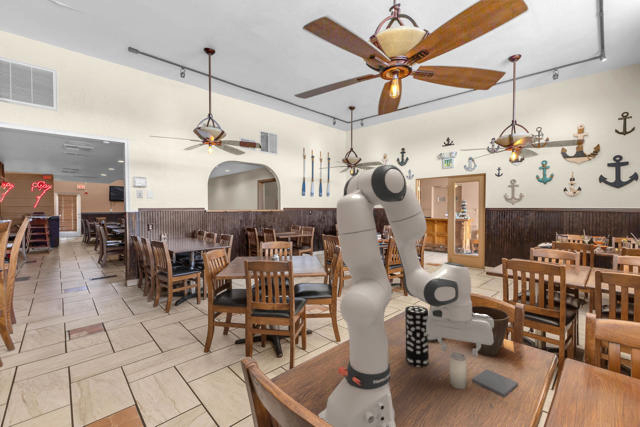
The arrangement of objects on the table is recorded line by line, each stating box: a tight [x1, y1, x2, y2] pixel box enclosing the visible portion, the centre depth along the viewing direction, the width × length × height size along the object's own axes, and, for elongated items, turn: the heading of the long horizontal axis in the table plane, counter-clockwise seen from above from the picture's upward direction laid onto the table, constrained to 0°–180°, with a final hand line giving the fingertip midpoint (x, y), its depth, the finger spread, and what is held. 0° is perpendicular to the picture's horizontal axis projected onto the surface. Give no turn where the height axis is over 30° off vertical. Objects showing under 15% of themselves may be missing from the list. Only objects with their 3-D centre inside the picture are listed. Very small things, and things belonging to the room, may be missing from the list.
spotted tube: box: [404, 305, 430, 368], centre depth 112 cm, size 8×8×20 cm
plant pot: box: [472, 305, 510, 357], centre depth 119 cm, size 15×15×16 cm
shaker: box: [449, 351, 467, 390], centre depth 97 cm, size 5×5×10 cm
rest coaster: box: [471, 368, 519, 398], centre depth 98 cm, size 10×10×1 cm
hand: (459, 352), depth 98 cm, fingers open, 8 cm apart
